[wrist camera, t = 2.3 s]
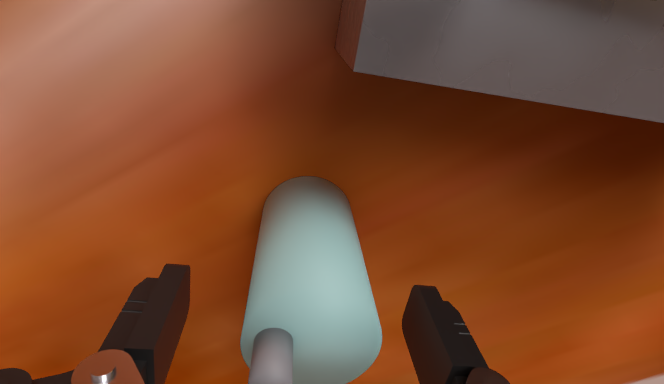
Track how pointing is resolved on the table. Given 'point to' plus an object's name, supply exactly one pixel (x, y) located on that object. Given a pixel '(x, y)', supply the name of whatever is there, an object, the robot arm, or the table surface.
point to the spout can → (309, 291)
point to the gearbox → (517, 49)
